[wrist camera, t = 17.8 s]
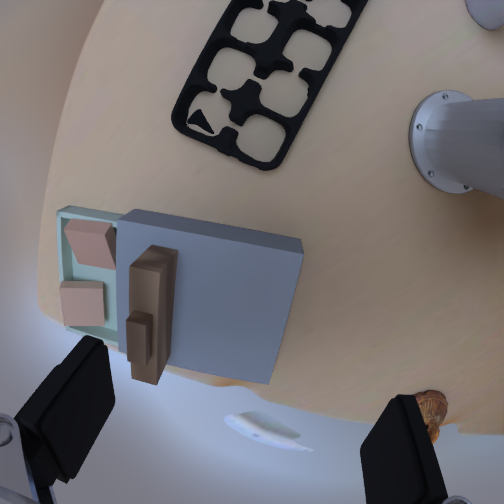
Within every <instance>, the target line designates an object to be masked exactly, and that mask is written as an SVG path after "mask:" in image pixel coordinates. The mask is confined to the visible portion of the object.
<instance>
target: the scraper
mask: <svg viewBox="0 0 504 504" xmlns="http://www.w3.org/2000/svg"><path fill="white" fill-rule="evenodd" d="M177 258H178V250H177V249H172V248H167V247H162V246H157V245H151V246H150V247H148V248H147V249H146V250H145V251H144V252H143V253H142V254H141V255H140V256H139V257H138V258H137V259H136V260H135V261H134V262H133V263H132V264H131V265H130V266H129V317H128V318H127V319H126V342H127V360H128V361H129V362H131V375H132V379H135V380H139V381H142V382H146V383H150V384H153V385H157V384H158V381H159V379H160V377H161V375H162V372H163V370H164V368H165V365H166V363H167V361H168V359H169V356H170V354H171V337H172V320H173V305H174V292H175V280H176V268H177Z"/></svg>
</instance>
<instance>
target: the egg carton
mask: <svg viewBox="0 0 504 504" xmlns="http://www.w3.org/2000/svg"><path fill="white" fill-rule="evenodd" d="M306 1H312V0H306ZM341 1H342V2H343V3H345V4H346V5H348V6H349V7H350V9H351V12H352V15H351V17H350V20H349V22H348V24H347V25H346V27H344V28H336V27H333V26H331V25H327V26H326V27H323V26H320V25H318V24H316V20H315V19H314V18H313V17H312V16H310V15H309V14H308V13H307V12H306V10H307V5H306V4H304V3H302V2H300V1H297V0H290V1H288V2H286V3H283V2H277V1H274V0H272V1H270V2H269V6H268V11H267V12H268V13H269V14H271V15H273V16H275V17H276V18H277V20H278V22H279V23H278V25H277V27H276V28H275V30H274V31H273V33H272V35H271V36H270V37H269V39H268V40H266V41H265V42H263V43H259V44H253V43H250V42H246V43H245V42H242V41H240V40H237V39H236V38H235V37H233V36H231V35H230V32H231V28H232V26H233V24H234V22H235V20H236V18H237V16H238V14H239V13H240V11H241V10H243V9H245V8H255V9H262V8H263V6H264V5H263V2H262V0H231V2H230V4H229V5H228V7H227V9H226V10H225V12H224V13H223V15H222V17H221V18H220V20H219V22H218V23H217V25H216V27H215V29H214V30H213V32H212V34H211V36H210V37H209V39H208V41H207V43H206V45H205V47H204V48H203V50H202V52H201V54H200V55H199V58H198V60H197V62H196V63H195V65H194V67H193V69H192V71H191V73H190V75H189V77H188V79H187V81H186V83H185V85H184V87H183V89H182V91H181V93H180V95H179V97H178V99H177V101H176V104H175V106H174V108H173V110H172V114H171V121H172V124H173V126H174V128H175V129H176V130H177V131H179V132H180V133H182V134H184V135H186V136H188V137H191V138H193V139H195V140H198V141H200V142H202V143H205V144H207V145H209V146H211V147H213V148H216V149H217V150H218V151H219V152H221V153H223V154H225V155H227V156H233V157H235V158H237V159H239V161H241V162H243V163H246V164H248V165H251V166H255V167H257V168H259V169H260V170H264V171H267V170H273V169H275V168H277V167H278V166H279V165H280V164H281V163H282V161H283V159H284V158H285V156H286V154H287V152H288V150H289V148H290V146H291V144H292V142H293V140H294V138H295V136H296V135H297V133H298V131H299V129H300V127H301V125H302V123H303V121H304V119H305V117H306V116H307V114H308V112H309V110H310V108H311V106H312V104H313V102H314V101H315V99H316V97H317V95H318V93H319V91H320V89H321V87H322V85H323V83H324V81H325V79H326V77H327V76H328V74H329V72H330V70H331V68H332V66H333V65H334V63H335V61H336V59H337V57H338V55H339V54H340V52H341V50H342V47H343V46H344V44H345V42H346V40H347V39H348V37H349V35H350V33H351V31H352V29H353V28H354V26H355V24H356V22H357V20H358V18H359V16H360V14H361V12H362V11H363V9H364V7H365V5H366V3H367V1H368V0H341ZM300 29H304V30H308V31H310V32H312V33H315V34H317V35H319V36H321V37H323V38H324V39H326V40H327V41H329V43H330V44H331V46H332V52H331V55H330V57H329V59H328V61H327V62H326V64H325V66H324V68H323V69H322V70H320V71H316V70H311V69H308V68H303V69H302V71H300V73H299V77H300V78H301V79H303V80H305V81H306V82H307V83H308V85H309V88H308V94H307V96H308V98H307V100H306V102H305V104H304V105H303V107H302V108H301V110H300V112H299V113H298V114H297V115H296V116H294V117H285V116H283V115H281V114H278V113H276V112H274V111H272V110H270V109H268V108H266V107H264V106H263V105H262V104H261V102H260V99H259V95H260V92H261V89H262V88H261V85H260V84H259V83H258V82H256V81H253V80H251V79H248V80H247V81H246V82H245V84H244V85H243V86H242V87H241V88H239V89H237V90H231V91H230V90H226V89H221V90H220V93H221V95H222V96H223V97H224V98H225V99H227V100H229V101H230V102H231V105H232V107H231V111H230V114H229V118H230V120H231V121H232V122H234V123H236V124H238V125H239V126H243V124H244V123H245V121H246V120H247V118H248V117H250V116H251V115H254V114H259V115H263V116H265V117H268V118H270V119H272V120H274V121H276V122H277V123H279V124H281V125H282V126H283V127H284V129H285V132H286V136H285V139H284V142H283V144H282V146H281V148H280V150H279V151H278V153H277V155H276V156H275V158H274V159H273V160H272V161H270V162H262V161H257V160H255V159H253V158H252V157H250V156H248V155H247V154H245V153H243V152H242V151H241V150H240V149H239V148H238V146H237V145H236V139H237V136H238V131H236V130H235V129H233V128H231V127H229V126H226V127H224V128H222V130H221V132H220V133H219V135H216V136H213V137H212V136H207V135H205V134H203V133H200V132H197V131H195V130H193V129H190V128H189V126H188V125H187V124H186V121H187V123H188V124H194V125H198V126H199V127H200V128H202V129H204V130H205V131H207V132H209V133H211V134H214V131H213V130H212V128H211V126H210V125H209V123H208V122H207V120H206V118H205V116H204V115H203V113H202V111H201V109H198V110H196V111H195V112H194V113H193V114H192V115H191V117H190V118H189V119H188V120H187V117H188V112H189V107H190V105H191V103H192V101H193V100H194V98H195V96H196V95H197V94H198V93H200V92H202V91H208V92H211V93H215V92H216V91H217V86H216V85H214V84H212V83H211V82H209V81H208V79H207V73H208V69H209V67H210V65H211V63H212V61H213V59H214V57H215V56H216V54H217V53H216V52H218V51H219V50H221V49H222V48H226V47H229V48H233V49H236V50H239V51H242V52H244V53H246V54H248V55H250V56H252V57H253V58H254V60H255V62H256V67H255V70H254V72H253V74H254V75H255V76H256V77H258V78H261V79H263V80H264V79H266V78H267V77H268V76H269V75H270V74H271V73H272V72H273V71H276V70H284V71H287V72H292V71H293V69H294V67H293V62H292V61H291V60H289V59H287V58H286V57H285V56H284V55H283V54H282V52H283V49H284V47H285V46H286V44H287V42H288V40H289V39H290V37H291V35H292V34H293V33H294V32H295V31H297V30H300ZM186 125H187V126H188V127H187V126H186Z"/></svg>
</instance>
